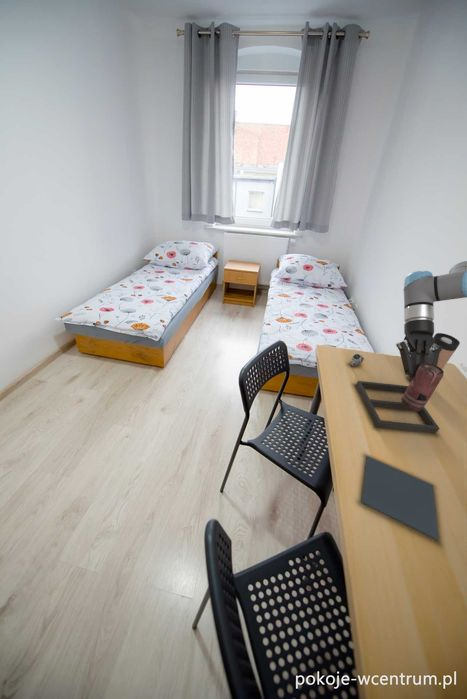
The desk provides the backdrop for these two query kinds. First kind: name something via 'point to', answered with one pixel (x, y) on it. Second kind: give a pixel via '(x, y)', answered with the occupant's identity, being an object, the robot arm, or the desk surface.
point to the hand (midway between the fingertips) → (420, 400)
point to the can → (422, 386)
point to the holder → (371, 403)
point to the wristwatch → (356, 360)
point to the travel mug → (444, 348)
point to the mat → (400, 497)
